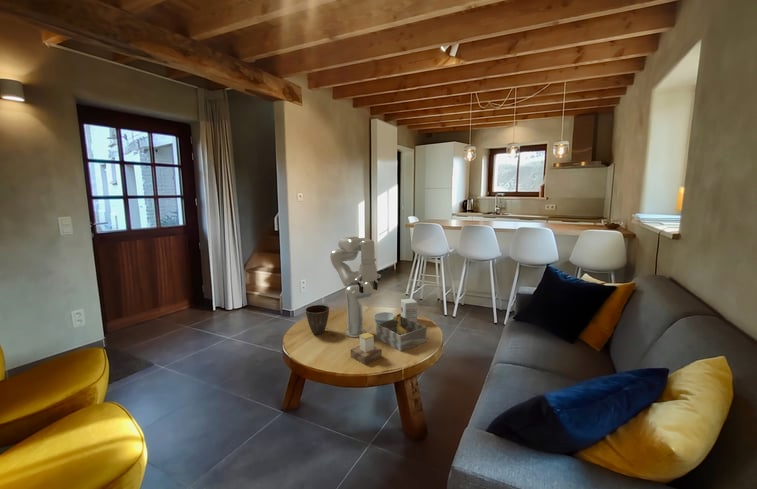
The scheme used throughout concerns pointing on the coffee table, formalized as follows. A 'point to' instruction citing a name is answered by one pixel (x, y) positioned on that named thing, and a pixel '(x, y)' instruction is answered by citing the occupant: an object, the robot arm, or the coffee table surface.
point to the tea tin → (366, 342)
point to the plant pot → (317, 318)
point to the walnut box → (366, 355)
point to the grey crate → (401, 342)
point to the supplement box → (409, 309)
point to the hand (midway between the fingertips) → (368, 291)
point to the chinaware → (383, 317)
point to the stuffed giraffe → (399, 325)
